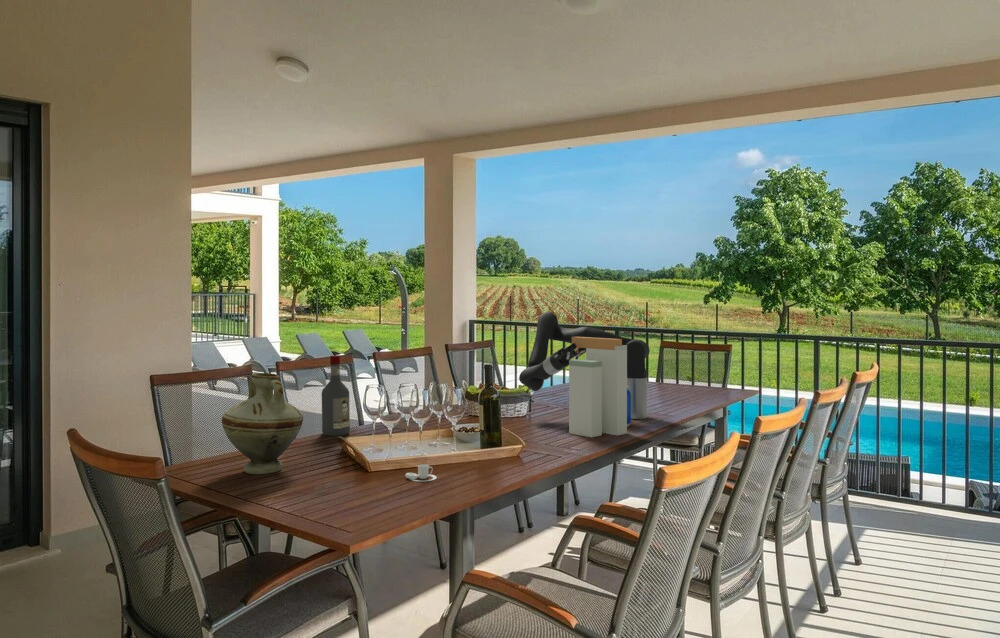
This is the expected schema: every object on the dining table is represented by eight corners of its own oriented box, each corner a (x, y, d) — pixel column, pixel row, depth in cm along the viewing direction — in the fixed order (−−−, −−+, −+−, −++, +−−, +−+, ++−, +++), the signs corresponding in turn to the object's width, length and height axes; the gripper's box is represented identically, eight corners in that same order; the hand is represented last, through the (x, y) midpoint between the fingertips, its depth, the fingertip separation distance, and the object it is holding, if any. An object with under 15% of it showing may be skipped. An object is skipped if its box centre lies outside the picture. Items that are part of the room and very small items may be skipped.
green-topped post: (569, 433, 276) (569, 360, 275) (579, 431, 280) (579, 359, 279) (591, 437, 268) (591, 362, 267) (601, 435, 272) (601, 361, 271)
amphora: (289, 482, 210) (299, 379, 211) (205, 477, 208) (215, 373, 209) (304, 467, 233) (313, 374, 234) (229, 461, 232) (238, 368, 232)
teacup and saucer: (402, 481, 209) (401, 467, 209) (415, 474, 217) (415, 461, 217) (429, 484, 206) (429, 469, 206) (441, 477, 214) (441, 463, 213)
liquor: (318, 434, 276) (317, 356, 275) (334, 430, 284) (333, 354, 283) (337, 436, 272) (336, 357, 271) (353, 432, 280) (352, 355, 279)
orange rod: (571, 347, 288) (571, 337, 288) (577, 346, 291) (577, 336, 290) (616, 350, 272) (616, 339, 272) (621, 349, 275) (621, 339, 274)
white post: (586, 430, 282) (586, 344, 281) (595, 428, 287) (595, 343, 285) (617, 435, 272) (617, 346, 270) (626, 433, 276) (626, 345, 274)
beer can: (630, 424, 295) (630, 384, 294) (631, 427, 287) (631, 387, 286) (609, 423, 296) (609, 384, 295) (610, 427, 287) (610, 387, 287)
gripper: (540, 355, 293) (567, 336, 283) (564, 353, 303) (590, 335, 292) (547, 372, 291) (574, 354, 280) (571, 369, 300) (597, 351, 290)
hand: (582, 344), depth 286 cm, fingers open, 8 cm apart
